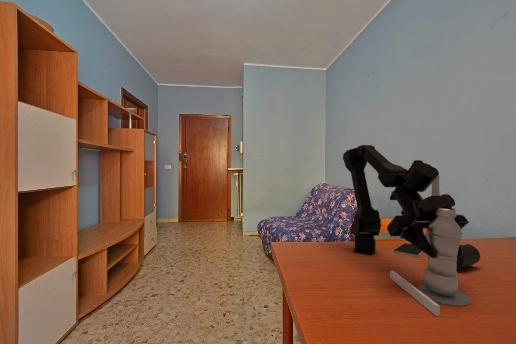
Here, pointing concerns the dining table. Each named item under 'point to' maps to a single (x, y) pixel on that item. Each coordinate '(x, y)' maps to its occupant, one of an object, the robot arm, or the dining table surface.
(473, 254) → the end cap
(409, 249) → the smartphone
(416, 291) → the frosted wall
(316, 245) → the dining table surface
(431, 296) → the slate mat
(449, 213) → the plastic bottle
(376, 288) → the dining table surface
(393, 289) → the dining table surface
